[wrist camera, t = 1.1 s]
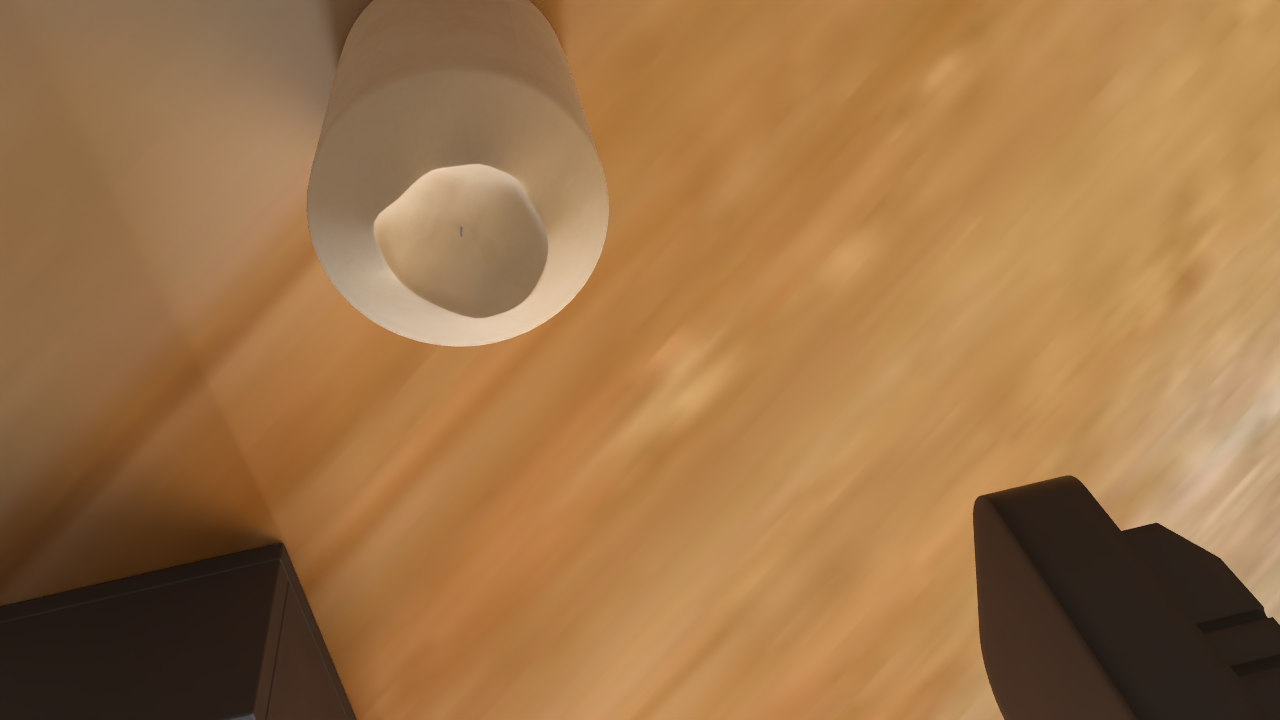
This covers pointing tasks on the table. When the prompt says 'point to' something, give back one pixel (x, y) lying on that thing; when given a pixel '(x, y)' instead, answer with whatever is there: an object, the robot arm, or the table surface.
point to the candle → (456, 172)
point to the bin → (173, 648)
